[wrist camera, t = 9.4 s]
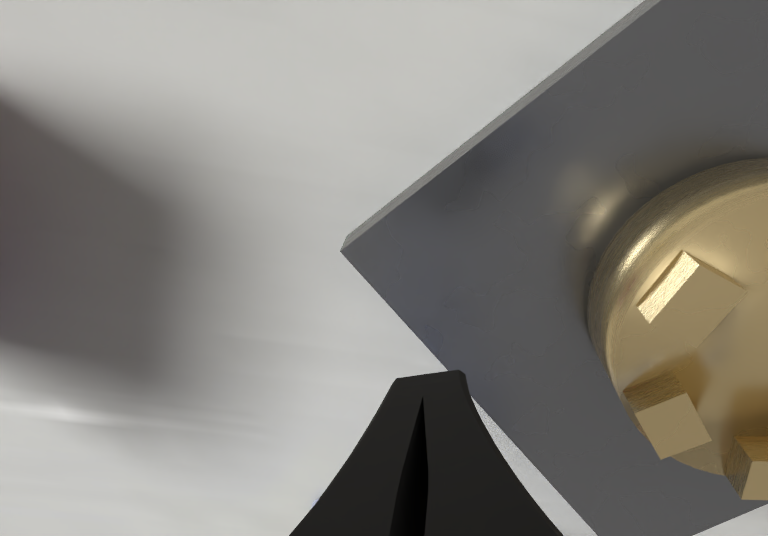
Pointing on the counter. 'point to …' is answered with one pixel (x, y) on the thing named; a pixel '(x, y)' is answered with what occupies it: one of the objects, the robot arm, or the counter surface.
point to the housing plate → (574, 247)
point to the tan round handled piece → (693, 322)
